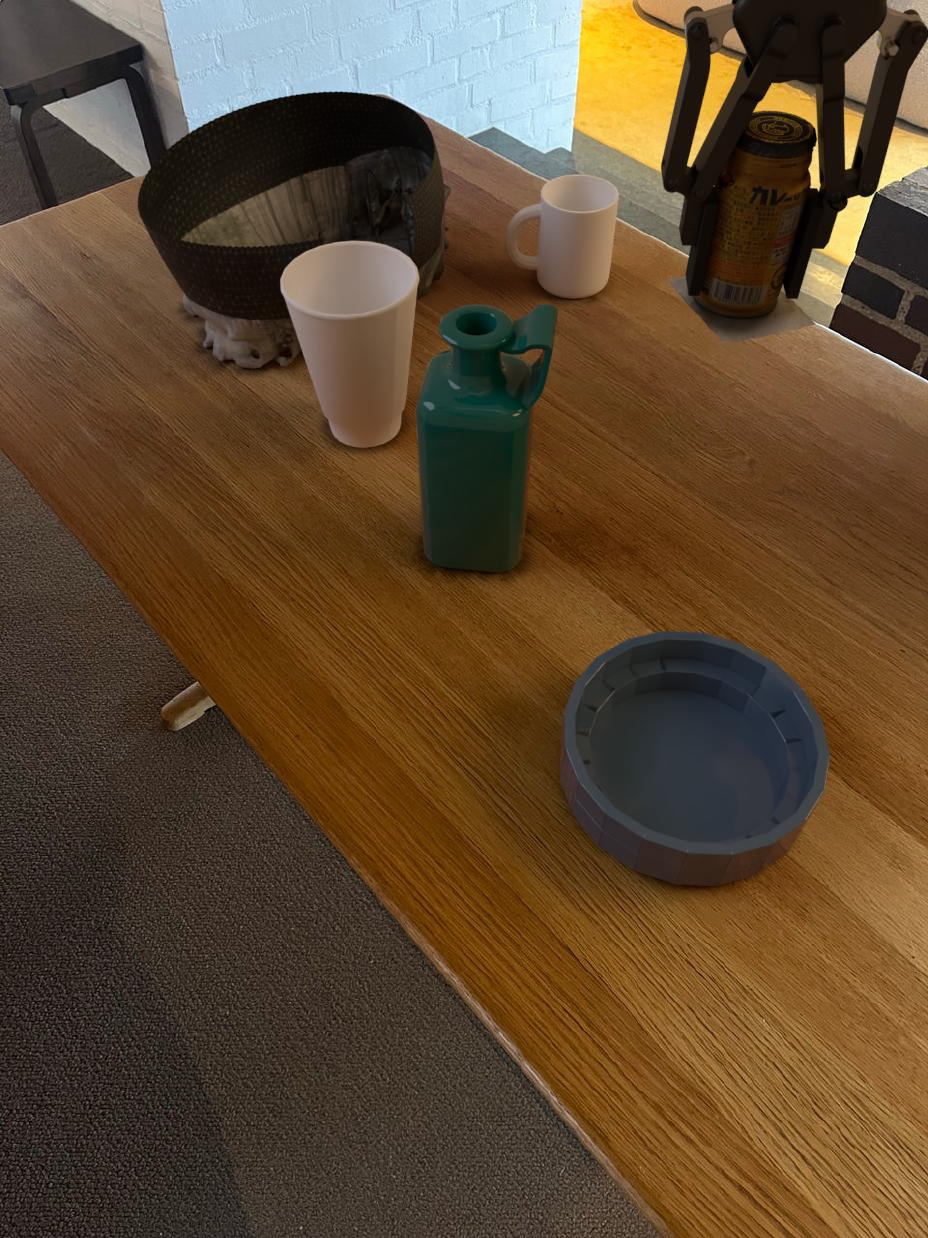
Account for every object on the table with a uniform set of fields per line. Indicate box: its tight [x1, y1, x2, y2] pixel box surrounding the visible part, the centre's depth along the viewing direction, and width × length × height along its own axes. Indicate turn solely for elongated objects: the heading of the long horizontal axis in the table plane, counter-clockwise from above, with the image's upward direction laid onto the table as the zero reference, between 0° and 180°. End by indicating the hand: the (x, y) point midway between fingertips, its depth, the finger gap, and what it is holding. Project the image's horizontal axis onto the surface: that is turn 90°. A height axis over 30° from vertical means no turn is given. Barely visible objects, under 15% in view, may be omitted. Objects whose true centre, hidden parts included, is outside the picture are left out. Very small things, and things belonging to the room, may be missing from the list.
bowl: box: [558, 630, 831, 887], centre depth 67 cm, size 18×18×6 cm
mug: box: [504, 173, 620, 300], centre depth 106 cm, size 12×8×10 cm
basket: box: [137, 90, 452, 369], centre depth 102 cm, size 28×35×16 cm
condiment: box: [667, 110, 818, 344], centre depth 64 cm, size 7×8×12 cm
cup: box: [280, 241, 420, 449], centre depth 88 cm, size 12×12×16 cm
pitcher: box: [414, 303, 559, 574], centre depth 75 cm, size 10×8×22 cm
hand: (740, 285), depth 67 cm, fingers closed on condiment, 6 cm apart
